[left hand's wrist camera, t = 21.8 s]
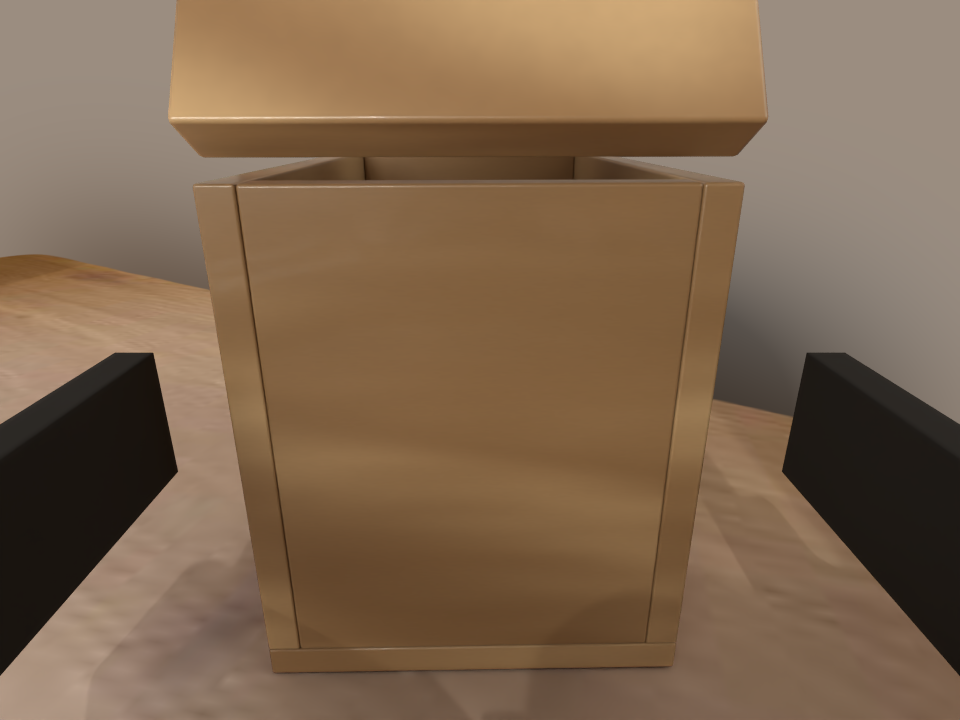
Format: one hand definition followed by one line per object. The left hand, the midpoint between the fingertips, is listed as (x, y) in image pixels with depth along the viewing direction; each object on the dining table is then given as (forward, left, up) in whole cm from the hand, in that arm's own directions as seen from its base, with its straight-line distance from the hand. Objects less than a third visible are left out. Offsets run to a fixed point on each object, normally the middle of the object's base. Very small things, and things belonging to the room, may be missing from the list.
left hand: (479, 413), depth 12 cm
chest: (+4, -5, -6) cm, 9 cm away
